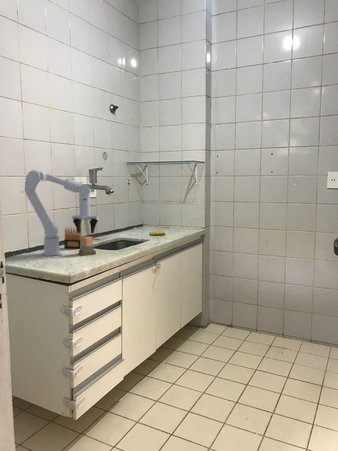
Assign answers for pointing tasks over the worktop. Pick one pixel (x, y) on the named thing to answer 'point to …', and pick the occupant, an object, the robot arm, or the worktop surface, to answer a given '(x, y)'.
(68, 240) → the ammunition clip
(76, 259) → the worktop surface
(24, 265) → the worktop surface
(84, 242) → the terracotta cube
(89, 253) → the walnut slab
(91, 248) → the grey slab
